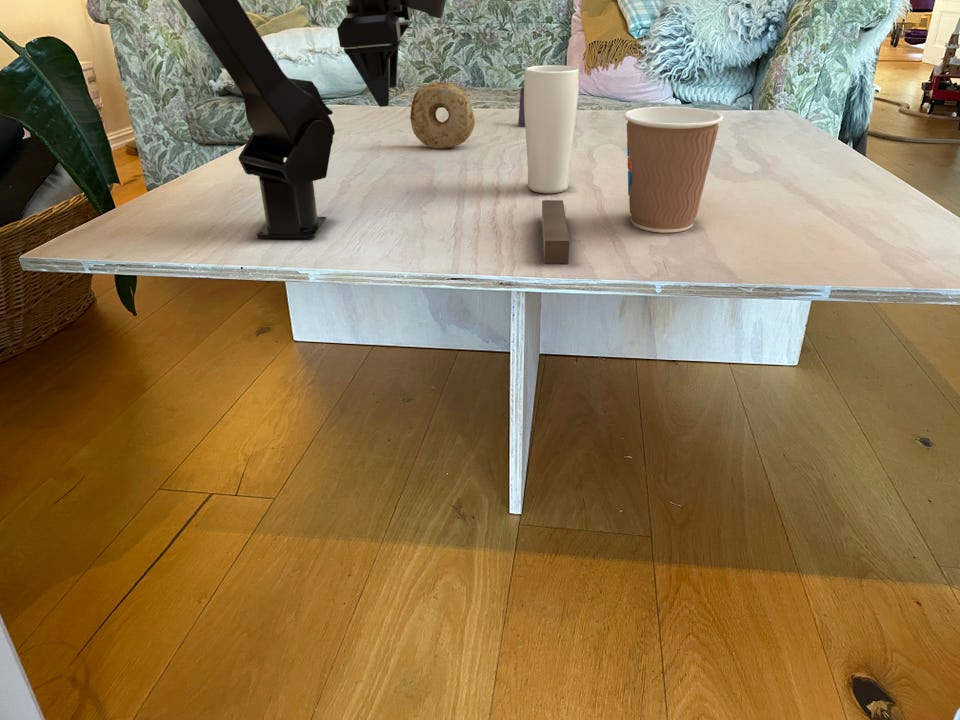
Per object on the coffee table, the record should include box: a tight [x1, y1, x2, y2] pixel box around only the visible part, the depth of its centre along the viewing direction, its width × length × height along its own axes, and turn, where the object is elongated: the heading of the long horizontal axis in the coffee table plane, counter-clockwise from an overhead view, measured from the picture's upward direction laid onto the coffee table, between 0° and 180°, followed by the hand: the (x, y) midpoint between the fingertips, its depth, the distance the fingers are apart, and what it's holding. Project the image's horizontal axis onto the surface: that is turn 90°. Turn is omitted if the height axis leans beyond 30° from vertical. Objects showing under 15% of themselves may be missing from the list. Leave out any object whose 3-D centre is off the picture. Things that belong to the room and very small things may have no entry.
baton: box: [541, 199, 570, 265], centre depth 79 cm, size 14×2×2 cm, turn 177°
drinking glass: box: [523, 64, 580, 194], centre depth 94 cm, size 7×7×15 cm
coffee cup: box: [623, 106, 724, 234], centre depth 82 cm, size 10×10×12 cm
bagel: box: [409, 81, 476, 149], centre depth 118 cm, size 10×4×10 cm, turn 77°
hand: (388, 96), depth 89 cm, fingers open, 9 cm apart
